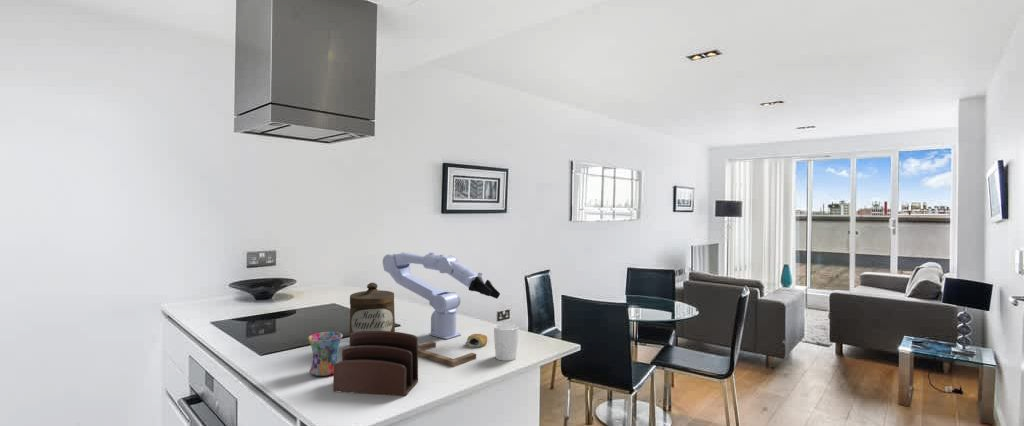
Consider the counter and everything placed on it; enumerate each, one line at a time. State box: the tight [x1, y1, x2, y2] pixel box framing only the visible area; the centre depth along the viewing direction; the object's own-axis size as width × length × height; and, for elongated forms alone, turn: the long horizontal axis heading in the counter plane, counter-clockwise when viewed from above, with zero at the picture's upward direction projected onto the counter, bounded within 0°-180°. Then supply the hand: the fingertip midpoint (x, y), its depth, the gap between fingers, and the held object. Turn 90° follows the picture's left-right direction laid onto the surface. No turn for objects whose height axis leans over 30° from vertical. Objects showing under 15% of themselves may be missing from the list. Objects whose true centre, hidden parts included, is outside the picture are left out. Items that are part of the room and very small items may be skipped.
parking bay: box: [418, 341, 477, 368], centre depth 152 cm, size 21×10×2 cm, turn 51°
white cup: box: [493, 323, 520, 362], centre depth 150 cm, size 8×8×10 cm
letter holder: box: [332, 331, 419, 397], centre depth 125 cm, size 10×20×14 cm, turn 82°
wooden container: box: [349, 282, 396, 335], centre depth 160 cm, size 15×15×22 cm
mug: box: [307, 331, 344, 377], centre depth 137 cm, size 12×9×11 cm
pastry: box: [465, 333, 488, 348], centre depth 166 cm, size 9×7×4 cm
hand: (494, 294), depth 165 cm, fingers open, 7 cm apart
